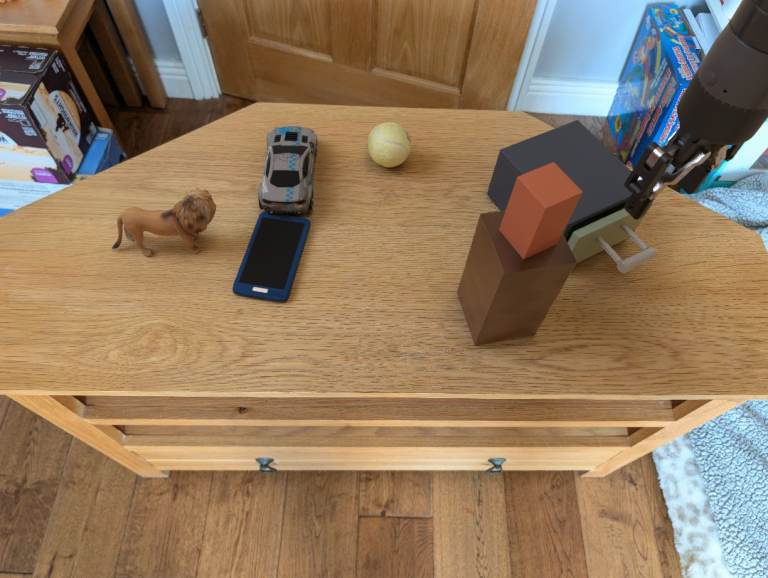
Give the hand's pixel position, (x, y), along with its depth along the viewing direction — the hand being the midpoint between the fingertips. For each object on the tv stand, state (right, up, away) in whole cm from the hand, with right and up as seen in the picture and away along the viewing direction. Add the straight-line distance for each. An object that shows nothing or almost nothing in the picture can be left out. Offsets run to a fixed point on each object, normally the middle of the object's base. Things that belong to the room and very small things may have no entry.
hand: (659, 200), depth 64 cm
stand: (-17, -13, +8) cm, 23 cm away
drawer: (-4, -2, +15) cm, 16 cm away
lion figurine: (-60, -4, +12) cm, 62 cm away
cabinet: (-7, +1, +18) cm, 19 cm away
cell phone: (-47, -6, +11) cm, 48 cm away
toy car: (-46, +6, +19) cm, 50 cm away
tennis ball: (-31, +9, +22) cm, 39 cm away
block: (-17, -5, -5) cm, 18 cm away
